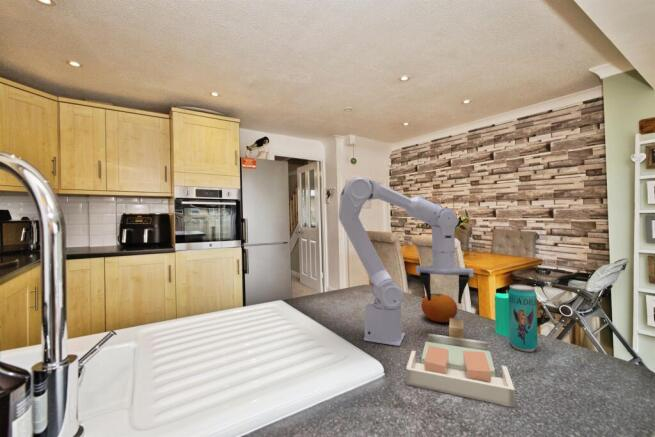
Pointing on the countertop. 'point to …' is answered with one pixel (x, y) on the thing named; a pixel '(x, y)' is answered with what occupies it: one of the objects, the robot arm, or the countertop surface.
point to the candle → (502, 314)
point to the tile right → (476, 366)
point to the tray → (462, 383)
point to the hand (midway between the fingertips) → (444, 301)
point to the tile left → (436, 360)
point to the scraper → (457, 337)
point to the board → (458, 356)
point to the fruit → (439, 307)
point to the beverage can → (523, 317)
